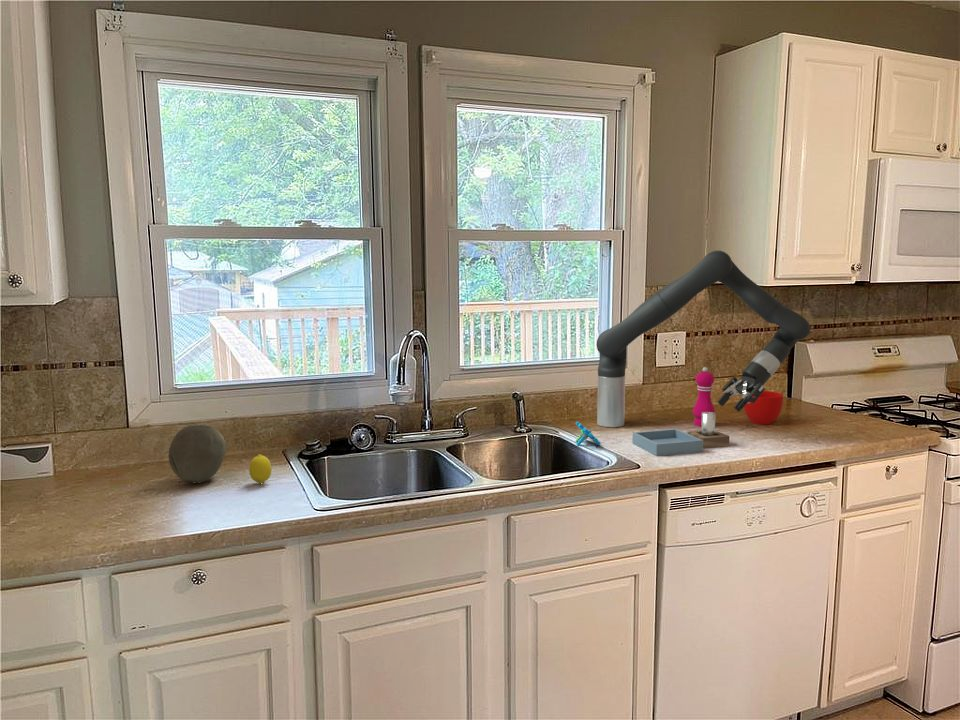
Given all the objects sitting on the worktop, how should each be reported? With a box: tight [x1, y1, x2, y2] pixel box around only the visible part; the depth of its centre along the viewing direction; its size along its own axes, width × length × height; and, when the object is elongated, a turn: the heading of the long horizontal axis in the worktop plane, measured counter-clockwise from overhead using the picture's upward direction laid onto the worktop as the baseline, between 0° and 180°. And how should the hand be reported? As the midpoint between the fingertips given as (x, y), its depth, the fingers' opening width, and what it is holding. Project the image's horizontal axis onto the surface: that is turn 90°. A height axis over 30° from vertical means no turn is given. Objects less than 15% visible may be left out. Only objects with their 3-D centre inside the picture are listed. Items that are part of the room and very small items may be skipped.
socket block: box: [686, 430, 730, 449], centre depth 219 cm, size 9×9×3 cm
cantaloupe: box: [168, 424, 227, 484], centre depth 188 cm, size 14×14×15 cm
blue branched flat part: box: [574, 421, 601, 447], centre depth 219 cm, size 11×6×10 cm
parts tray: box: [631, 428, 704, 457], centre depth 215 cm, size 15×15×4 cm
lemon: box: [248, 454, 272, 484], centre depth 185 cm, size 6×6×8 cm
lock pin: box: [700, 412, 716, 436], centre depth 219 cm, size 4×4×10 cm
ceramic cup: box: [743, 390, 784, 426], centre depth 246 cm, size 13×17×10 cm
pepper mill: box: [692, 366, 716, 427], centre depth 242 cm, size 7×7×20 cm
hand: (727, 406), depth 219 cm, fingers open, 8 cm apart
